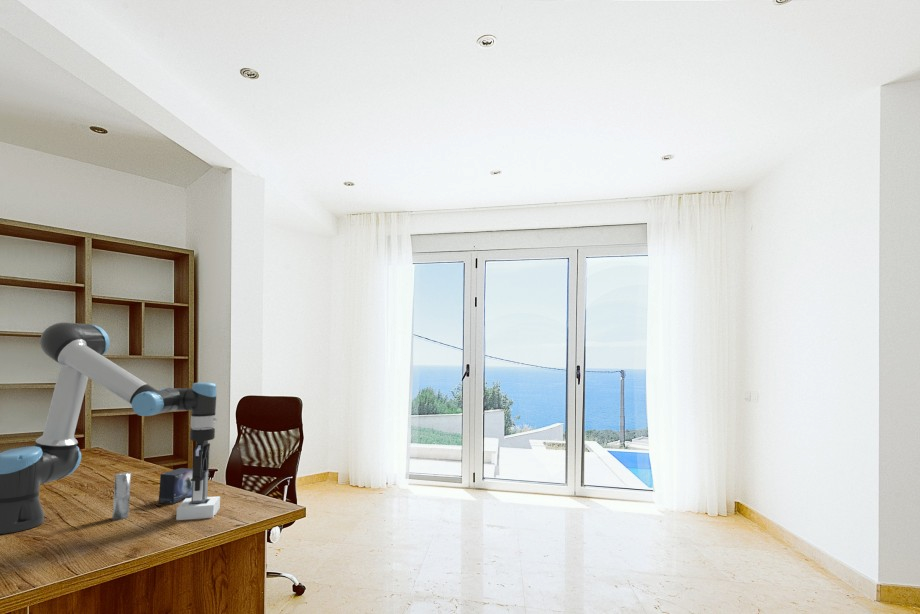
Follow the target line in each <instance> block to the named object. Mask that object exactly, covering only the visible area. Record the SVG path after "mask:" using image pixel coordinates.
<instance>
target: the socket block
mask: <svg viewBox="0 0 920 614" xmlns="http://www.w3.org/2000/svg"><path fill="white" fill-rule="evenodd" d="M191 501H192V497H191V498H186V499H185V500H182V501H181V502H180V504H179V505H178V506H177V507H176V516H175V518H176V519H175V520H176V521H185V520H187V521H188V520H199V519H213V518H214V517H215V516H216V515H217V513H218V512H219V510H220V507H221V496H219V495H218V496H207V503H205V504H191ZM214 515H215V516H214Z"/></svg>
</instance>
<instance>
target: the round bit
mask: <svg viewBox="0 0 920 614" xmlns="http://www.w3.org/2000/svg"><path fill="white" fill-rule="evenodd" d="M131 478H132V473H131V472H120V473H116V474H115V475H114V489H113V502H112V503H113V505H112V506H113V508H112V520H115V521H118V520H124V519H127V518H129V515H130V514H129V513H130V499H131V498H130V497H131V482H132V481H131Z"/></svg>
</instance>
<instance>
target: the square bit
mask: <svg viewBox="0 0 920 614" xmlns="http://www.w3.org/2000/svg"><path fill="white" fill-rule="evenodd" d="M208 473H209V471H208V470H203V476H202V480H203V493H202V500H200V501H193V485H194V481H192V497H191V498H192V501H191V504H205V503H207V497H208V492H209V491H208V490H209V489H208V488H209V475H208Z"/></svg>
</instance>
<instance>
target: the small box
mask: <svg viewBox="0 0 920 614" xmlns="http://www.w3.org/2000/svg"><path fill="white" fill-rule="evenodd" d="M192 474H193V468H185V467H180V468H176V469H173V470H170V471H167V472H162V473H160V478H159V493H158V494H159V495H158V500H157V501H158V502H157V503H158V504H165V505H174V504H177V503H179V502H180V503H181V502H183V501H184V500H185V499H186V498H192V481H191V479H192Z"/></svg>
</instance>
